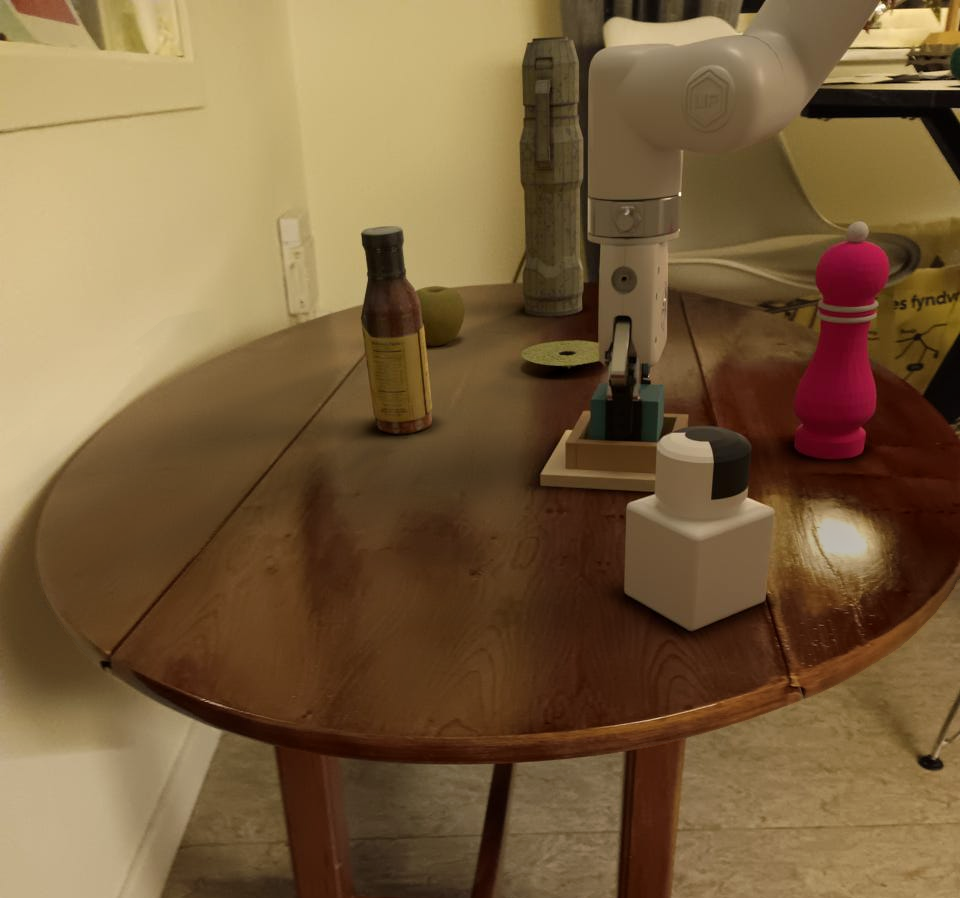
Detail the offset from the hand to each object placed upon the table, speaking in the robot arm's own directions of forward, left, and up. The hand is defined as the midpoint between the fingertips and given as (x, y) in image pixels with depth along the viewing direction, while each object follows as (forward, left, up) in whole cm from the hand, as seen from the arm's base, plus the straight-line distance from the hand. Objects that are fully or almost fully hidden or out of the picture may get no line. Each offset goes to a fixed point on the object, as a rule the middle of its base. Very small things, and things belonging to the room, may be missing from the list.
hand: (627, 430), depth 91 cm
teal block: (0, 0, 0) cm, 0 cm away
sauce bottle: (+25, -8, -4) cm, 26 cm away
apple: (+32, -42, -4) cm, 53 cm away
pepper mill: (-18, -7, -4) cm, 20 cm away
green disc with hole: (+12, -32, -4) cm, 34 cm away
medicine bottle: (-8, +25, -4) cm, 26 cm away
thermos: (+20, -62, -4) cm, 65 cm away
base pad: (0, 0, -4) cm, 4 cm away
